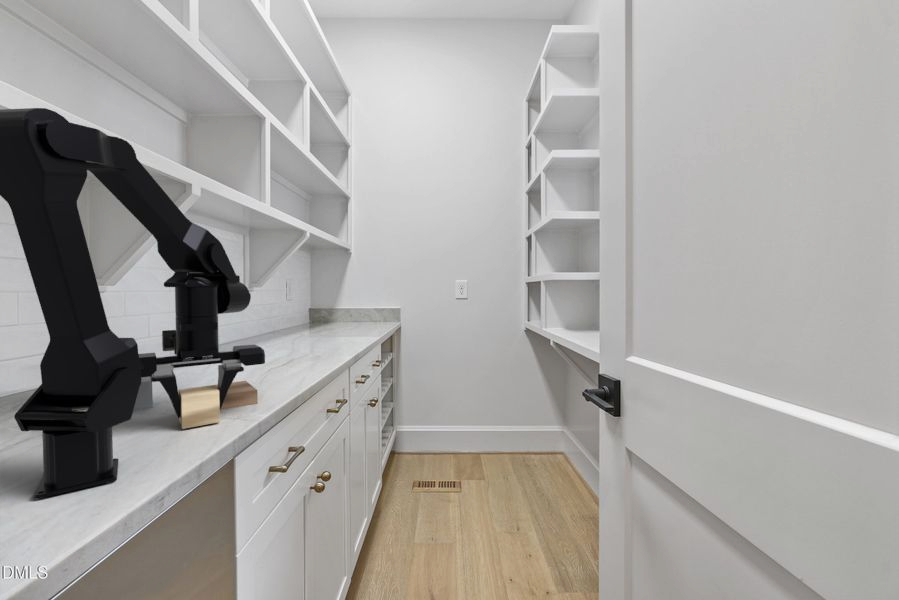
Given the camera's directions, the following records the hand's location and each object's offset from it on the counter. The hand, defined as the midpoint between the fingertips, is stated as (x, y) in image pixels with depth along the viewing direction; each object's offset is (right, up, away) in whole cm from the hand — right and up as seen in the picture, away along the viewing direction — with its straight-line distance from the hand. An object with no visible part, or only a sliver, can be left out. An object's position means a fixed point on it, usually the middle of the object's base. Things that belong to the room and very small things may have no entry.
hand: (199, 413), depth 64 cm
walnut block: (-3, -2, +12) cm, 12 cm away
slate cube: (-17, -2, +9) cm, 20 cm away
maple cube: (0, -1, 0) cm, 1 cm away
